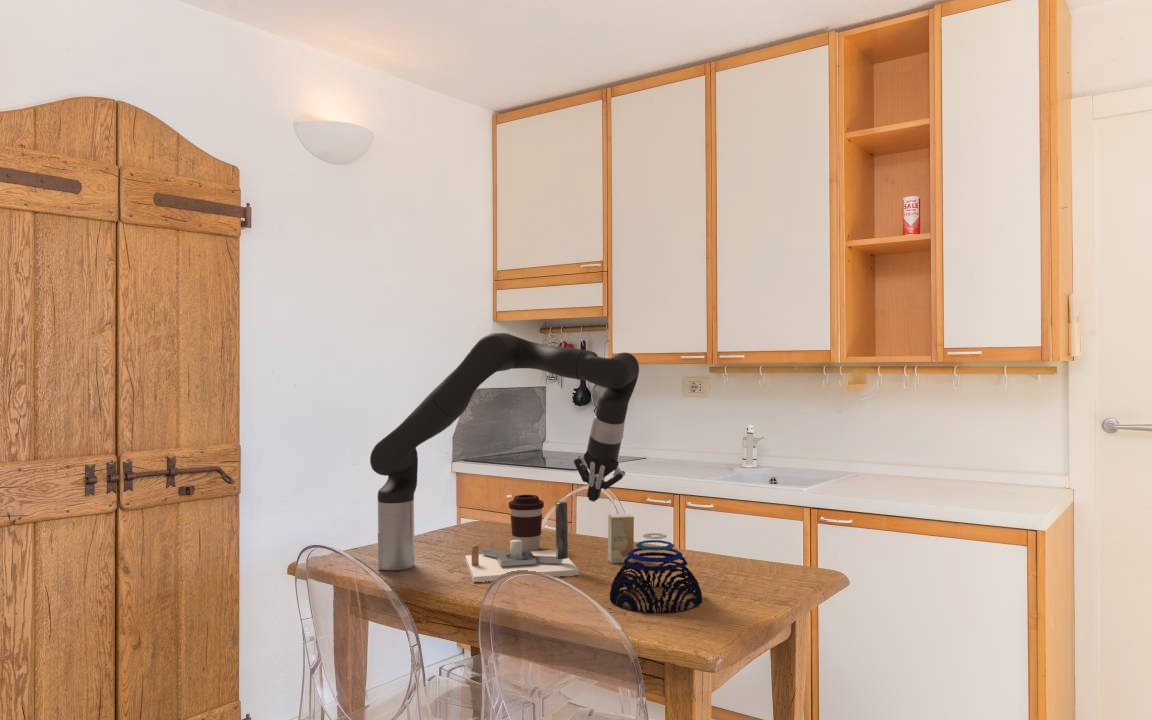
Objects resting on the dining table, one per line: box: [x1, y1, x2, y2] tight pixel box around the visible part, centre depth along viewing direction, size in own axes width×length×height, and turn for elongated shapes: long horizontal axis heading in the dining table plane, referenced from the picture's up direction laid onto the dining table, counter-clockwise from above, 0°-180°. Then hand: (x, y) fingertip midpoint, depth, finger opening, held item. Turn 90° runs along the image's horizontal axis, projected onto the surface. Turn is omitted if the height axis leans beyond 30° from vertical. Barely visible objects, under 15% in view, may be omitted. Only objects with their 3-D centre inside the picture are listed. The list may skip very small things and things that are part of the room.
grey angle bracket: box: [480, 501, 569, 566], centre depth 209 cm, size 20×17×15 cm
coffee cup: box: [508, 494, 545, 552], centre depth 227 cm, size 10×10×15 cm
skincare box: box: [607, 513, 635, 564], centre depth 212 cm, size 6×4×12 cm
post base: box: [465, 539, 580, 583], centre depth 206 cm, size 26×22×7 cm
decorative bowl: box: [609, 532, 703, 615], centre depth 178 cm, size 20×20×14 cm
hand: (592, 499), depth 193 cm, fingers closed
